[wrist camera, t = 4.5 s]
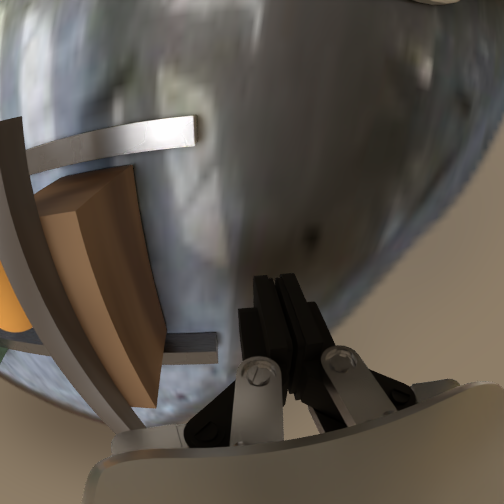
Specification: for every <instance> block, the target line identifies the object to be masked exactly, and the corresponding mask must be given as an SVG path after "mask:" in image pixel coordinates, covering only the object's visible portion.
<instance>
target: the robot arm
mask: <svg viewBox="0 0 504 504" xmlns="http://www.w3.org/2000/svg"><path fill="white" fill-rule="evenodd" d="M414 1H416V2H420V3H425V4H430V5H445V4H450V3H455V2H458V1H460V0H414ZM253 291H254V308H242V309H238V318H239V332H240V342H241V351H242V359H243V362H241V364H240V365H239V366H238V369H237V372H236V380H235V381H234V382H233V383H232V384H230V385H229V386H228V387H227V388H226V389H225V390H224V391H223V392H222V393H221V394H219V395H218V396H217V397H216V398H215V399H214V400H213V401H211V402H210V403H209V404H208V405H207V406H206V407H205V408H203V409H202V410H201V411H200V412H199V413H198V414H196V415H195V416H194V417H193V418H192V419H190V420H189V422H188V423H187V424H182V425H177V426H176V424H170V425H164V426H158V427H152V428H145V429H137V430H129V431H123V432H120V433H118V434H117V435H116V436H115V437H114V439H113V440H112V445H111V450H112V456H110V457H108V458H105V459H103V460H101V461H100V462H98V463H97V464H96V465H95V466H94V467H93V468H92V469H91V471H90V473H89V475H88V478H87V481H86V484H85V488H84V492H83V498H82V504H504V389H503V388H502V387H501V386H500V385H499V384H497V383H494V382H487V381H482V382H472V383H467V384H464V385H460V384H459V383H458V382H457V381H455V380H453V379H444V380H438V381H432V382H424V383H416V384H412V386H410V387H409V386H408V385H406V384H404V383H401V382H399V381H397V380H394V379H392V378H389V377H386V376H384V375H382V374H379V373H377V372H375V371H372V370H370V369H368V367H367V366H366V365H365V363H364V362H363V361H362V359H361V358H360V356H359V355H358V354H357V353H356V352H355V351H354V350H353V349H351V348H349V347H346V346H338V345H337V346H336V345H335V343H334V341H333V339H332V336H331V334H330V332H329V330H328V328H327V325H326V323H325V321H324V319H323V317H322V315H321V312H320V310H319V308H318V306H317V304H316V303H315V302H306V299H305V297H304V295H303V292H302V290H301V288H300V285H299V283H298V281H297V279H296V276H295V274H294V273H289V274H281V275H280V278H276V280H275V285H274V282H273V279H272V278H269V279H268V276H267V275H263V276H254V278H253ZM287 391H289V394H293V393H294V396H295V400H301V401H302V402H303V403H305V404H307V405H308V409H309V412H310V414H311V416H312V418H313V420H314V423H315V425H316V427H317V429H318V431H319V433H320V434H318V435H313V436H308V437H303V438H297V439H292V440H285V441H284V434H283V406H284V405H285V402H286V396H287Z"/></svg>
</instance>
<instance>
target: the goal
mask: <svg viewBox="0 0 504 504" xmlns="http://www.w3.org/2000/svg"><path fill="white" fill-rule="evenodd" d="M7 350H8V349H7V348H3V347H0V363H1V361H2V359H3V357H4V355H5V353H6V352H7Z"/></svg>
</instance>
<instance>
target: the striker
mask: <svg viewBox="0 0 504 504" xmlns="http://www.w3.org/2000/svg"><path fill="white" fill-rule="evenodd" d="M0 261H1V263H2V266H3V268H4V271H5V273H6V275H7V277H8V280H9V282H10V284H11V286H12V288H13V291H14V293H15V295H16V297H17V299H18V301H19V303H20V305H21V307H22V308H23V310H24V312H25V314H26V316H27V318H28V319H29V321H30V323H31V325H32V326H33V328H34V330H35V332H36V333H37V335H38V337H39V338H40V340H41V341H42V343H43V344H44V346H45V348H46V349H47V351H48V352H49V354H50V355H51V357H52V358H53V360H54V361H55V362H56V364H57V365H58V367H59V368H60V369H61V371H62V372H63V374H64V375H65V376H66V378H67V379H68V380H69V382H70V383H71V384H72V385H73V387H74V388H75V389H76V390H77V392H78V393H79V394H80V395H81V397H82V398H83V399H84V400H85V401H86V402H87V404H88V405H89V406H90V407H91V408H92V409H93V411H94V412H95V413H96V414H97V415H98V416H99V417H100V418H101V419H102V420H103V421H104V422H105V424H106V425H107V426H108V427H109V428H110V429H111V430H112V431H113V432H114V433H115V434H116V435H117V434H118V433H120V432H123V431H129V430H137V429H145V428H146V427H145V425H144V424H143V423H142V422H141V420H140V419H139V418H138V416H137V415H136V414H135V412H134V411H133V410H132V408H131V407H141V408H156V407H157V398H158V389H159V381H160V373H161V366H162V359H163V352H164V345H165V339H166V333H167V328H166V325H165V321H164V318H163V314H162V311H161V307H160V303H159V299H158V296H157V292H156V288H155V284H154V280H153V275H152V271H151V267H150V262H149V258H148V253H147V249H146V244H145V239H144V234H143V228H142V223H141V217H140V212H139V206H138V200H137V193H136V186H135V179H134V172H133V165H126V166H120V167H113V168H107V169H101V170H95V171H90V172H85V173H80V174H75V175H70V176H65V177H61V178H59V179H58V180H56V181H54V182H53V183H51V184H50V185H48V186H46V187H45V188H43V189H42V190H40V191H39V192H37V193H36V194H33V189H32V185H31V180H30V175H29V169H28V164H27V157H26V151H25V143H24V134H23V124H22V116H21V117H16V118H12V119H7V120H3V121H0Z"/></svg>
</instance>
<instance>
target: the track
mask: <svg viewBox="0 0 504 504" xmlns="http://www.w3.org/2000/svg"><path fill="white" fill-rule="evenodd" d="M197 142H198V133H197V115H189V116H178V117H169V118H161V119H154V120H147V121H140V122H134V123H128V124H123V125H117V126H112V127H107V128H103V129H98V130H94V131H89V132H85V133H81V134H77V135H73V136H69V137H66V138H62V139H59V140H55V141H52V142H49V143H45V144H42V145H39V146H36V147H33V148H30V149H27V150H25V151H26V157H27V164H28V169H29V175H32V174H35V173H39V172H43V171H46V170H50V169H54V168H58V167H62V166H67V165H71V164H76V163H80V162H85V161H90V160H95V159H100V158H106V157H111V156H117V155H124V154H130V153H137V152H144V151H152V150H160V149H169V148H179V147H190V146H195V145H196V143H197ZM0 347H3V348H7V349H12V350H17V351H22V352H28V353H33V354H39V355H46V356H51V355H50V354H49V352H48V351H47V349H46V348H45V346H44V344H43V343H42V341H41V340H40V338H39V337H38V335H37V333H36V332H35V330H34V328H31V329H29V330H26V331H23V332H8V331H5V330H3V329H1V328H0ZM215 363H218V343H217V336H216V332H214V333H190V334H166V339H165V345H164V352H163V359H162V365H183V364H215Z"/></svg>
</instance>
